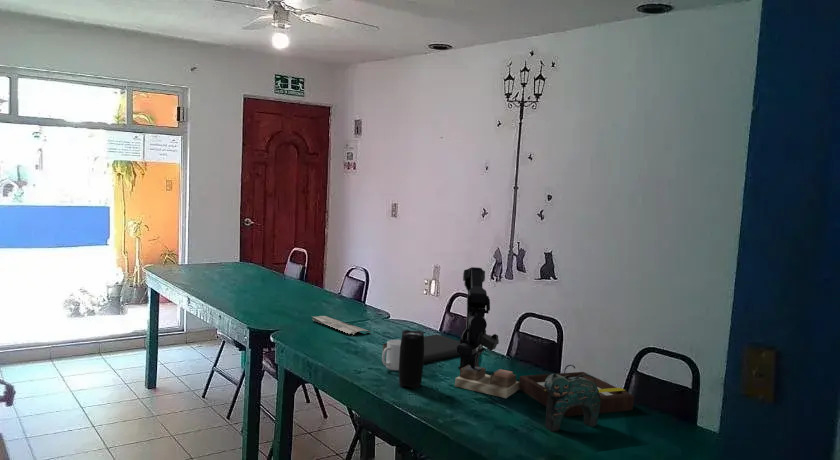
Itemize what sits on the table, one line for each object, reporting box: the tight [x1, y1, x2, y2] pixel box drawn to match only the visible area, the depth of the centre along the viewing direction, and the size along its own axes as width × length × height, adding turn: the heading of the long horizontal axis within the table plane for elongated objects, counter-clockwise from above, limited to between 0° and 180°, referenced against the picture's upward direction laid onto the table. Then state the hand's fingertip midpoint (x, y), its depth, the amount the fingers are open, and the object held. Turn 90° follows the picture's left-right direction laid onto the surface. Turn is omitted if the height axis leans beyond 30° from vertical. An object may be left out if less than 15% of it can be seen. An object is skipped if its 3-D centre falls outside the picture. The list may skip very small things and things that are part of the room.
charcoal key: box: [464, 366, 483, 372], centre depth 237 cm, size 5×5×3 cm
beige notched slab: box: [312, 315, 371, 336], centre depth 314 cm, size 35×12×4 cm, turn 43°
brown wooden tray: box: [518, 371, 635, 418], centre depth 227 cm, size 28×7×30 cm
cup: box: [381, 339, 401, 372], centre depth 251 cm, size 8×12×10 cm
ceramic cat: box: [544, 364, 601, 433], centre depth 200 cm, size 20×6×20 cm, turn 114°
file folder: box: [382, 334, 461, 365], centre depth 279 cm, size 33×4×24 cm
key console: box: [454, 365, 520, 399], centre depth 234 cm, size 20×12×6 cm, turn 60°
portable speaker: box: [398, 329, 425, 390], centre depth 231 cm, size 9×9×20 cm
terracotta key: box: [493, 368, 514, 379], centre depth 231 cm, size 5×5×3 cm
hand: (473, 368), depth 237 cm, fingers closed, pressing on charcoal key
